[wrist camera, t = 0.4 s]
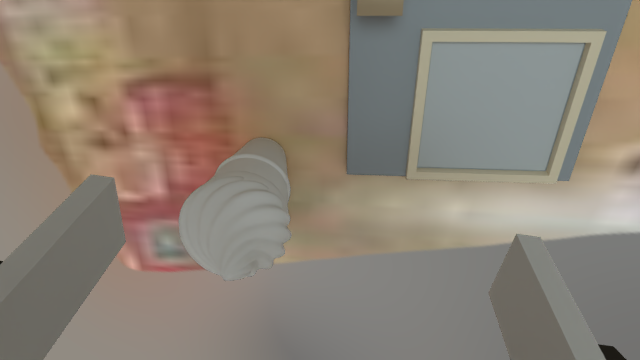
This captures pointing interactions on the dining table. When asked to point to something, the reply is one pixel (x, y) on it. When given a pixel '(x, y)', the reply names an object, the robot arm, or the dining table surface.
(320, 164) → the dining table surface
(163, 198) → the dining table surface
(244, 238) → the soft serve ice cream cone
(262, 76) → the dining table surface
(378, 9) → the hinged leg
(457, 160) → the jig board
